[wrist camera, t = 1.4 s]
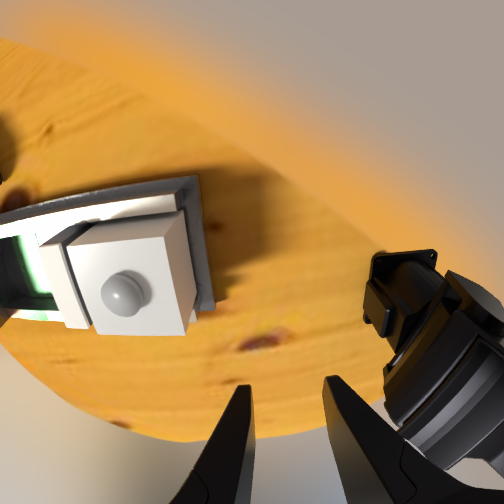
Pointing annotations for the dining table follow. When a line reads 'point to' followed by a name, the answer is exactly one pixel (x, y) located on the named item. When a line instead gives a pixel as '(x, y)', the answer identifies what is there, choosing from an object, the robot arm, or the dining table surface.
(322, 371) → the dining table surface
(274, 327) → the dining table surface
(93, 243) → the knobbed white cube
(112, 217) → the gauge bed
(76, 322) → the white flat block
